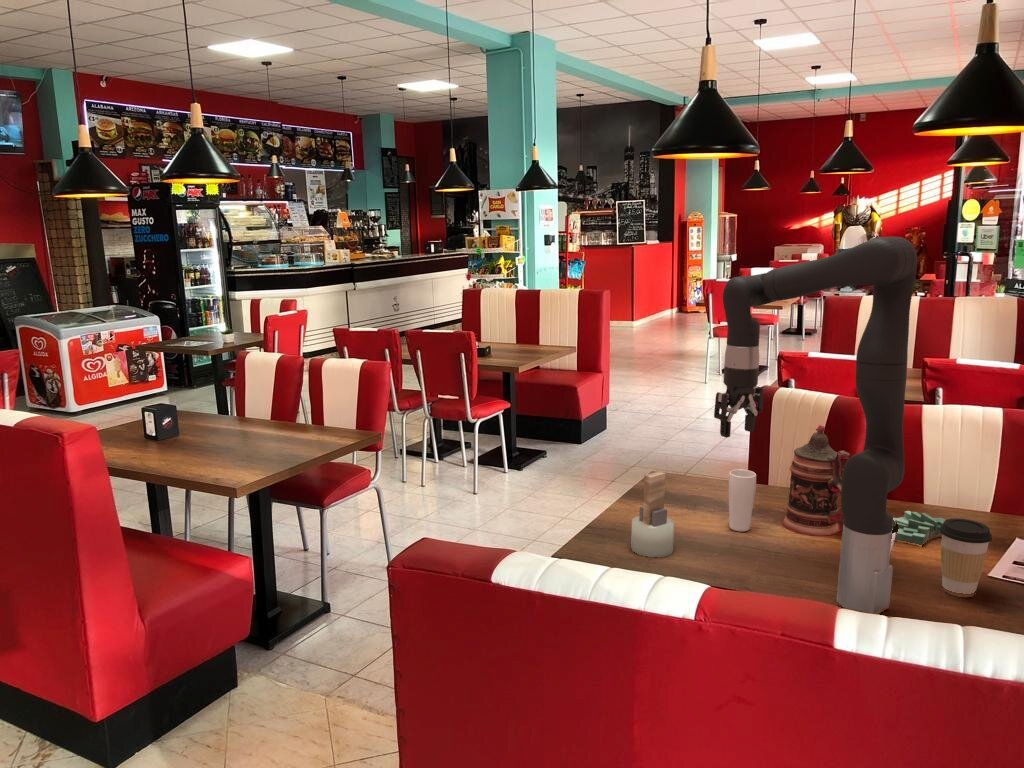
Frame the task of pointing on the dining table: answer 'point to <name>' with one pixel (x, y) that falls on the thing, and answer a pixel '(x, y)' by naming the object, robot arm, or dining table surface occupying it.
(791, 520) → the beer stein
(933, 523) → the money
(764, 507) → the dining table surface
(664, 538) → the cream plug cylinder
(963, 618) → the dining table surface
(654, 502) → the brown wooden block
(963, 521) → the coffee cup
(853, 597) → the robot arm
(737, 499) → the drinking glass
